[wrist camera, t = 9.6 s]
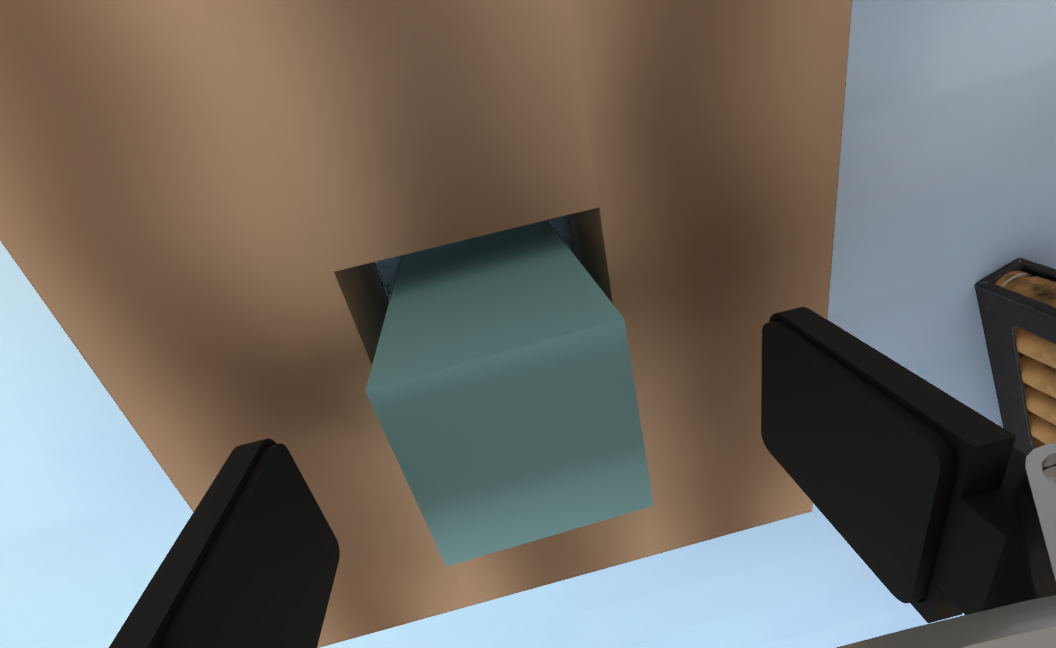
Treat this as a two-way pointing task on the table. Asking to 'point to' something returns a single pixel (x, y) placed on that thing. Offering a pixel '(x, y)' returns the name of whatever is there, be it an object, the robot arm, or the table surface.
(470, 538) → the peg
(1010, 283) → the ammunition clip
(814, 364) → the robot arm
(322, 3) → the socket block
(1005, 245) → the table surface
